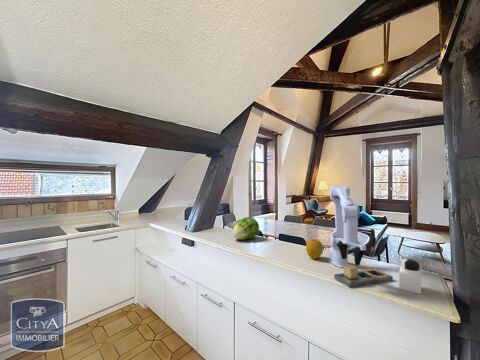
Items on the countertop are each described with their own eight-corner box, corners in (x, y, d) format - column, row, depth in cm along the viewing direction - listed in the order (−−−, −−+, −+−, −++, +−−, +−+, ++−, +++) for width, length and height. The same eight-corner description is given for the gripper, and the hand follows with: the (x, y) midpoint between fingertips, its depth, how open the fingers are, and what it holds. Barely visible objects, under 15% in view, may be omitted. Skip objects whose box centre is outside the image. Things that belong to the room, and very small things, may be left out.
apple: (324, 262, 118) (324, 241, 119) (307, 260, 120) (307, 240, 121) (321, 256, 128) (321, 237, 128) (305, 255, 130) (305, 236, 130)
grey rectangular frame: (334, 278, 98) (334, 273, 98) (375, 272, 105) (375, 268, 105) (349, 287, 89) (349, 282, 89) (392, 280, 96) (392, 275, 96)
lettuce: (223, 229, 166) (236, 218, 155) (241, 220, 184) (254, 210, 173) (235, 249, 161) (249, 239, 150) (252, 238, 179) (266, 229, 168)
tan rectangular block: (343, 280, 96) (343, 265, 96) (350, 279, 97) (350, 264, 97) (350, 284, 92) (350, 268, 92) (357, 283, 93) (357, 267, 93)
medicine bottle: (421, 288, 89) (420, 260, 90) (420, 294, 84) (420, 265, 84) (400, 283, 94) (400, 256, 94) (398, 288, 89) (398, 260, 89)
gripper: (332, 229, 101) (332, 257, 101) (356, 236, 87) (356, 268, 87) (343, 228, 103) (343, 255, 103) (369, 235, 89) (369, 266, 89)
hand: (350, 261), depth 95 cm, fingers open, 7 cm apart
